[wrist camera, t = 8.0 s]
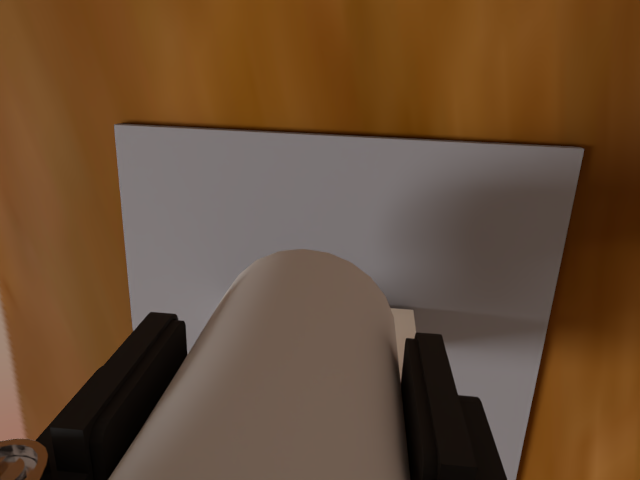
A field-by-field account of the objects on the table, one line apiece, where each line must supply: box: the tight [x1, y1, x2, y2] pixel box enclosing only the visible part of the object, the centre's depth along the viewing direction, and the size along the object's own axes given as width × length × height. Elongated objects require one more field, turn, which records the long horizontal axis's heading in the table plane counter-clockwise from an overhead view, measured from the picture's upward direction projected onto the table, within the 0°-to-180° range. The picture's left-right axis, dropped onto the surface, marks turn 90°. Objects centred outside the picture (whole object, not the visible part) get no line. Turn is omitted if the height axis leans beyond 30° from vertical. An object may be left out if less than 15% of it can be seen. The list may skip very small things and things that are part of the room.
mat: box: [114, 124, 584, 480], centre depth 21 cm, size 20×16×1 cm
